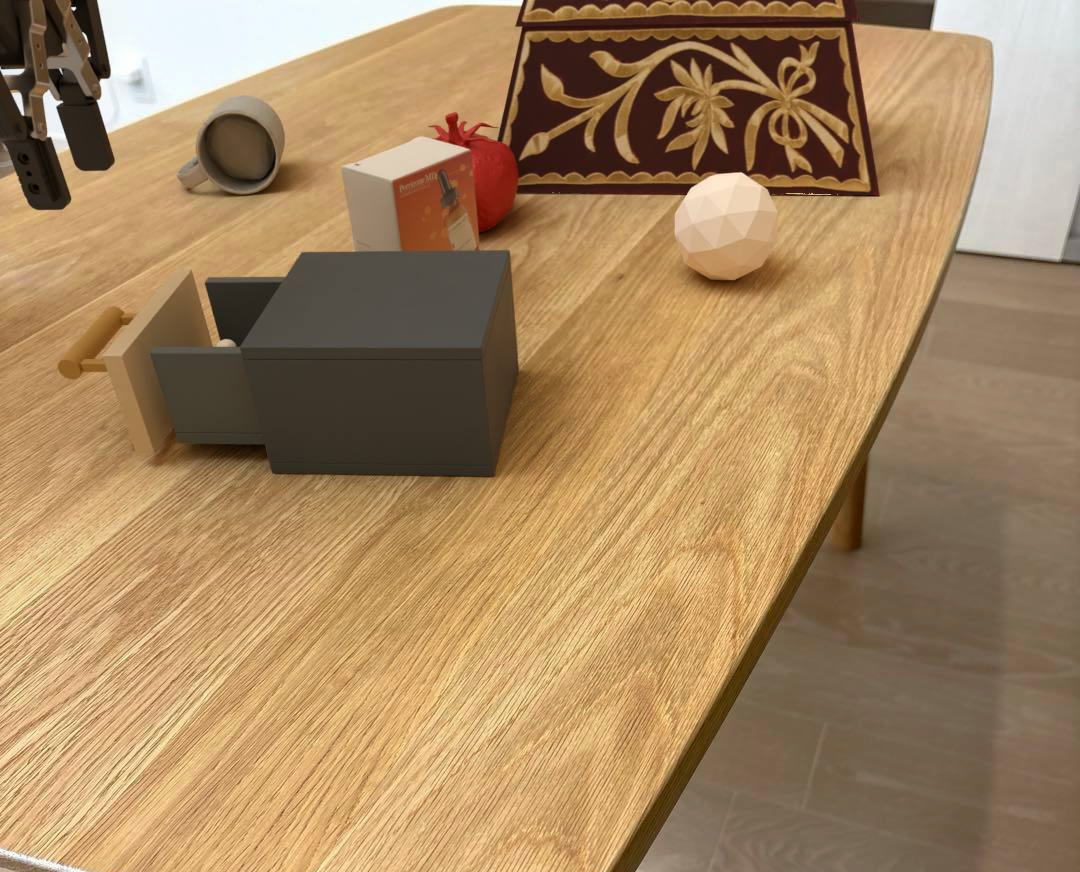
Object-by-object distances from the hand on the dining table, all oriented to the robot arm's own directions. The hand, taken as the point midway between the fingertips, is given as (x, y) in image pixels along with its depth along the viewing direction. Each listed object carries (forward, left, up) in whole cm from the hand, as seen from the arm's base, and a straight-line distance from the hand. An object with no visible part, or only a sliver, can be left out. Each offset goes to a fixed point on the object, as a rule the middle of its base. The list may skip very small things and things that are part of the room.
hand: (74, 186), depth 61 cm
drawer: (+6, 0, -15) cm, 16 cm away
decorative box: (+35, +47, -16) cm, 61 cm away
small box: (+15, +18, -16) cm, 28 cm away
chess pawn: (+6, 0, -14) cm, 15 cm away
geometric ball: (+38, +21, -16) cm, 46 cm away
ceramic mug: (-8, +42, -16) cm, 46 cm away
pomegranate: (+16, +32, -16) cm, 39 cm away
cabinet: (+17, 0, -15) cm, 23 cm away
